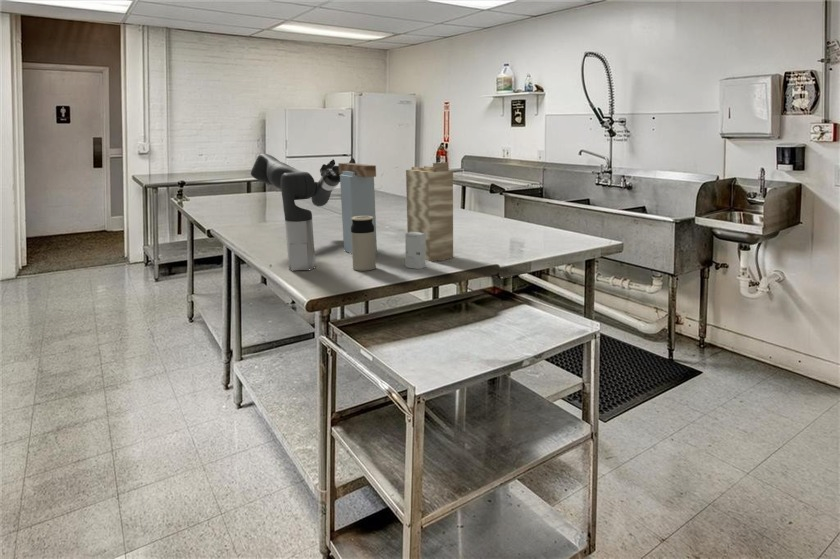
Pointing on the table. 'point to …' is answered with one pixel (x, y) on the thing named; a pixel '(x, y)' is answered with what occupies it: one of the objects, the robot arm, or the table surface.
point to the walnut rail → (358, 169)
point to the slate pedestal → (356, 203)
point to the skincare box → (415, 250)
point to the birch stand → (431, 208)
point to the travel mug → (363, 243)
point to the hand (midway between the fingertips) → (343, 161)
